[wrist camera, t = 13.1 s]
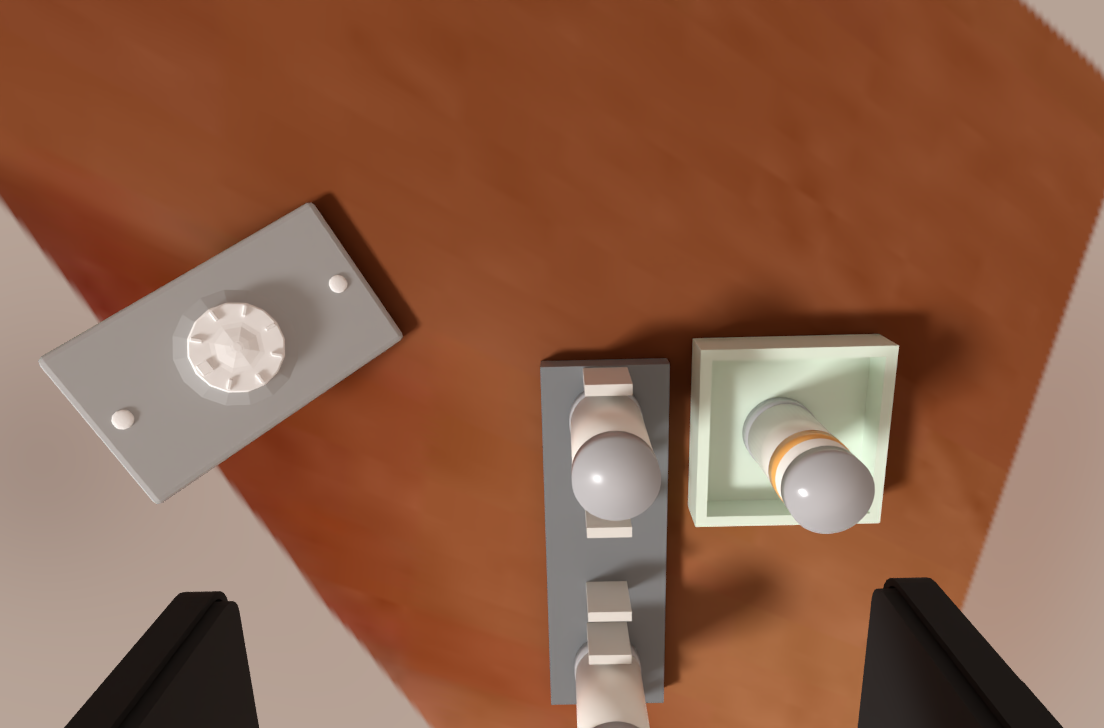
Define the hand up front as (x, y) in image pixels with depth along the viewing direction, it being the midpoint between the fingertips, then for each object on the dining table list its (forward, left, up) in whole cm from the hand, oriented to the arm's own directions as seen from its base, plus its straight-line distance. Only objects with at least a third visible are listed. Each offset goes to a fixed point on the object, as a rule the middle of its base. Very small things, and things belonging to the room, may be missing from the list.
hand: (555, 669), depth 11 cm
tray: (+8, +13, -30) cm, 34 cm away
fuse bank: (+15, +3, -30) cm, 34 cm away
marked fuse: (+8, +12, -30) cm, 33 cm away
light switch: (+2, -16, -31) cm, 35 cm away
